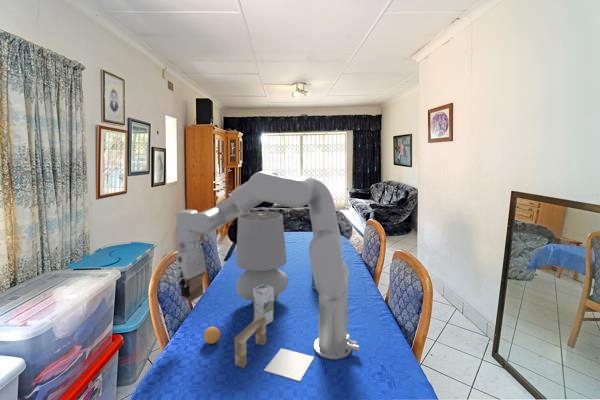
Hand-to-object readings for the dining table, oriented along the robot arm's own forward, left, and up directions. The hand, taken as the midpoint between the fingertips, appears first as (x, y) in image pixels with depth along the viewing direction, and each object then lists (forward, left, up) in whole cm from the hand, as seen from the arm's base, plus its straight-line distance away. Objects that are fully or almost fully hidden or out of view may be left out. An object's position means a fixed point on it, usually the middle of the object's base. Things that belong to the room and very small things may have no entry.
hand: (192, 292), depth 118 cm
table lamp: (-12, -30, -16) cm, 36 cm away
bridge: (-26, +3, -16) cm, 31 cm away
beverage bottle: (-29, -56, -16) cm, 65 cm away
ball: (-10, +3, -13) cm, 17 cm away
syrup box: (-20, -16, -16) cm, 31 cm away
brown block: (0, 0, -2) cm, 2 cm away
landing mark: (-40, +3, -16) cm, 43 cm away
